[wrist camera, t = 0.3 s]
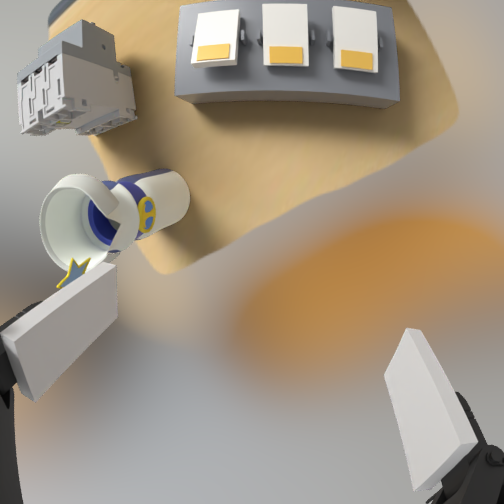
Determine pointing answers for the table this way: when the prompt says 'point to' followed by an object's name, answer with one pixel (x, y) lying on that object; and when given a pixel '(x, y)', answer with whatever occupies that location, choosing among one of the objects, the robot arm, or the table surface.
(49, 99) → the circuit breaker
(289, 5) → the block
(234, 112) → the table surface
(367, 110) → the table surface
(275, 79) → the panel
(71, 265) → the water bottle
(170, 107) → the table surface
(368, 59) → the rocker
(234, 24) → the rocker
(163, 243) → the table surface
